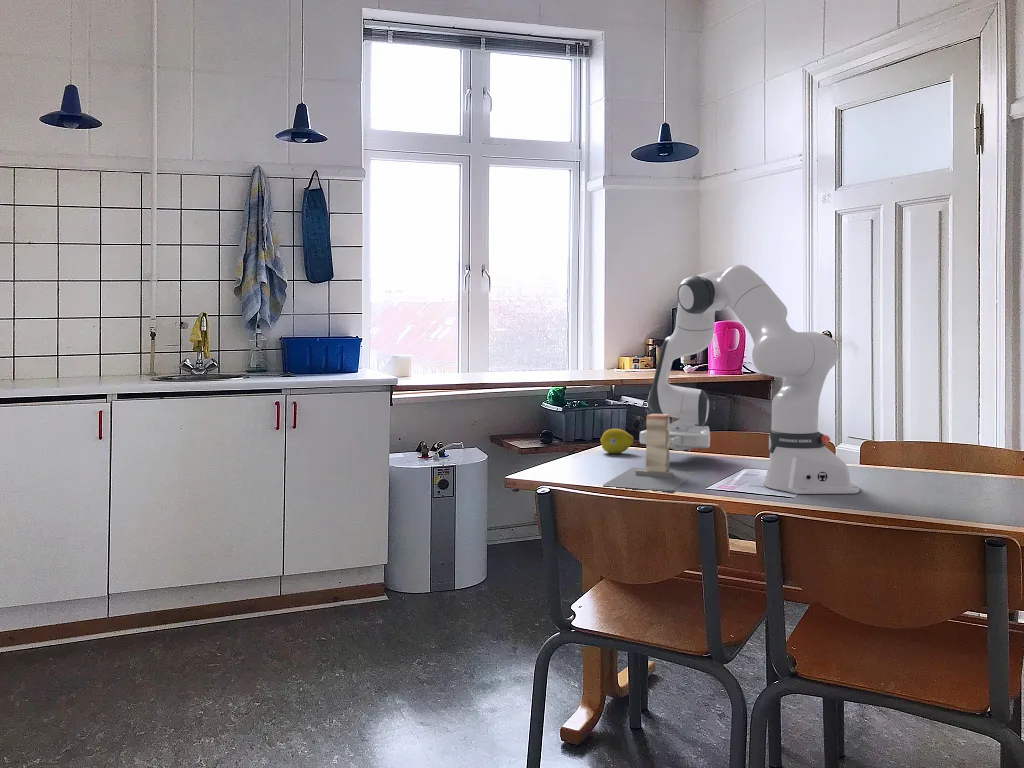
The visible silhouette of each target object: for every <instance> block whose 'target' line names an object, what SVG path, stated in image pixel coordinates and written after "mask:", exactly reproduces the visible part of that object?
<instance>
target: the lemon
mask: <svg viewBox="0 0 1024 768" xmlns="http://www.w3.org/2000/svg"><path fill="white" fill-rule="evenodd" d="M599 441H600V444H601V447H602V449H603V450H604V451H605V452H607V453H608V454H613V455H617V454H618V455H619V454H622V453H623V452H625V451H627V450H628V449H629V448H630V446H632V445H633V443H634V436H633V435H631V434H630V433H628V432H627V431H626V430H623V429H620V428H610V429H607V430H605V431H604V432H603V433H602V436H601V437H600V440H599Z"/></svg>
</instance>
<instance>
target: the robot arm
mask: <svg viewBox="0 0 1024 768" xmlns="http://www.w3.org/2000/svg"><path fill="white" fill-rule="evenodd" d="M677 300H678V304H677V310H676V311H677V312H676V317H675V327H674V330H673V333H672V334H671V335H669V336H667V337H665V339H664V341H663V342H662V343H663V344H662V346H661V349H660V353H659V356H658V360H657V365H656V369H655V373H654V378H653V382H652V384H651V389H650V391H649V395H648V397H647V407H648V409H649V410H650V411H651V412H652V414H670V417H671V418H675V419H678V420H675V421H672V422H670V423H669V449H672V450H674V451H675V452H676V451H678V452H683V451H685V450H692V449H693V450H694V449H708V448H710V446H711V431H710V427H709V426H708V425H705V424H707V422H708V420H709V417H710V411H711V401H710V398H709V396H708V395H707V393H706V391H705V390H703V389H698V388H691V387H683V386H680V385H679V386H678V385H673V384H670V383H669V378H670V373H671V370H672V366H673V362H674V361H676V359H679V358H684V357H687V356H692V355H696V354H698V353H701V352H702V351H704V350H706V349H707V348H708V347H709V346H710V345H711V344H712V342H713V338H714V333H715V318H716V317H715V315H716V311H724V310H728V309H731V310H732V312H733V313H734V314H735V315H736V317H737V318H738V319H739V322H740V323H742V325H743V326H744V327H745V329H746V330H747V332H748V334H749V335H750V337H751V339H752V341H753V345H754V346H753V348H752V353H751V356H752V357H751V358H752V359H751V360H752V363H753V365H754V367H755V368H756V369H757V371H758V372H760V374H761V373H762V374H763V375H767V376H771V377H775V378H784V379H783V382H782V384H781V386H780V389H779V390H778V392H777V393H776V394H775V395H774V396H773V399H772V400H771V429H770V430H769V435H768V450H769V460H768V466H767V470H766V471H767V472H766V476H765V478H764V482H763V486H764V487H766V488H770V489H771V490H773V489H774V490H777V491H782V492H783V491H784V492H787V493H791V494H797V495H801V494H802V495H805V494H806V495H809V494H810V495H812V494H813V495H818V494H820V495H824V494H825V495H826V494H827V495H828V494H829V495H830V494H837V495H838V494H842V495H843V494H858V493H859V492H860V486H859V484H858V483H857V482H854V481H852V480H851V477H850V471H849V467H848V465H847V463H845V461H843V459H841V458H840V457H839V456H837V455H836V454H835V453H834V452H832V451H831V450H830V449H829V448H827V447H826V445H828V444H830V443H831V437H830V436H828V435H827V434H823V433H822V432H820V431H819V429H818V426H819V409H820V408H819V407H820V399H821V393H822V392H823V391H822V390H823V387H824V383H825V381H826V378H827V376H828V374H829V372H830V370H832V369H833V367H834V366H835V365H836V363H837V361H838V358H839V348H838V345H837V343H836V342H835V340H834V339H833V338H831V337H830V336H828V335H826V334H823V333H820V332H816V331H799V332H798V331H796V330H794V329H792V328H791V327H790V325H789V323H788V321H787V318H788V317H787V316H788V308H787V306H786V305H785V303H784V302H783V301H782V300H781V299H780V298H779V297H778V295H777V294H776V293H775V292H774V291H773V289H772V288H771V287H770V286H769V284H767V282H766V281H765V279H763V278H762V277H761V276H760V275H759V274H758V273H756V272H755V271H754V270H753V269H751V268H750V267H748V266H747V265H744V264H735V265H732V266H731V267H729V268H727V269H719V270H711V271H707V272H703V273H700V274H698V275H691V276H689V277H686V278H684V279H683V280H682V281H681V282H680V283H679V286H678V288H677ZM670 417H669V418H670ZM639 443H640V444H642V445H646V429H644V430H642V431H639Z"/></svg>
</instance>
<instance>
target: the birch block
mask: <svg viewBox="0 0 1024 768" xmlns="http://www.w3.org/2000/svg"><path fill="white" fill-rule="evenodd" d="M645 419H646V429H645V430H646V444H645V445H646V446H645V447H646V450H645V451H646V455H645V457H646V459H645V461H646V462H645V464H646V465H645V469H646V471H659V472H669V470H670V447H669V425H670V414H653V413H649V414H647V415H646V418H645Z"/></svg>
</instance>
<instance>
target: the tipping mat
mask: <svg viewBox="0 0 1024 768" xmlns="http://www.w3.org/2000/svg"><path fill="white" fill-rule="evenodd" d="M696 473H697V472H696V471H686V470H685V471H684V470H674V469H673V470H672V469H671V470H670V469H669V472H659V471H646V467H645V468H642V467H631V468H629V469H628V470H626V471H624V472H622V473H621V474H618V475H616V476H615V477H614V478H612V479H611V480H609V481H607V482H606V483H604V484H602V488H603V487H616V488H625V489H632V490H631V491H636V490H652V491H662V492H667V493H666V494H675V493H674V492H677V490H676V489H677V488H678V487H679V486H681V485H683V483H685V482H686V481H687V480H689V479H690V477H692V476H693V475H695V474H696Z"/></svg>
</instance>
